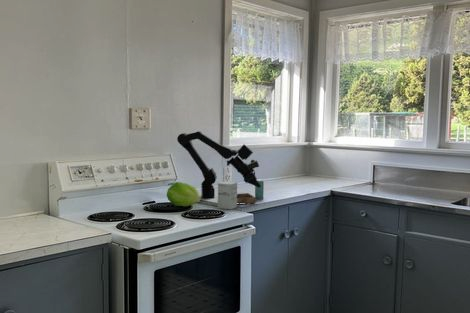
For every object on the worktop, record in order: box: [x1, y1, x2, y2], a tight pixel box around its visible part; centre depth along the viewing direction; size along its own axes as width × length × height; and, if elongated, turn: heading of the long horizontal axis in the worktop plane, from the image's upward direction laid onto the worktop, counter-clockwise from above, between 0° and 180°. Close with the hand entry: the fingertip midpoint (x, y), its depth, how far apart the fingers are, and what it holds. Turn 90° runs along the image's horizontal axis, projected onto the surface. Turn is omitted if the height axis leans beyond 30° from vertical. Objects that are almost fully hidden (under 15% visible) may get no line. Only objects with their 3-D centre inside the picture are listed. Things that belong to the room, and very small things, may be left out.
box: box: [237, 192, 257, 204], centre depth 246 cm, size 13×13×3 cm
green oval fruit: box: [166, 181, 202, 207], centre depth 232 cm, size 14×20×12 cm
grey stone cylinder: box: [217, 180, 238, 210], centre depth 231 cm, size 7×7×13 cm
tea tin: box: [254, 178, 265, 200], centre depth 256 cm, size 4×4×10 cm
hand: (259, 185), depth 256 cm, fingers open, 6 cm apart
